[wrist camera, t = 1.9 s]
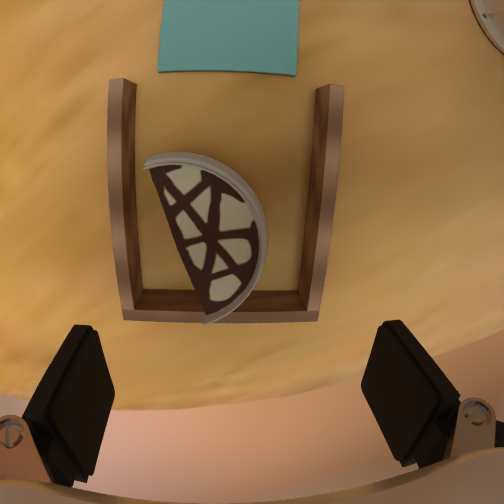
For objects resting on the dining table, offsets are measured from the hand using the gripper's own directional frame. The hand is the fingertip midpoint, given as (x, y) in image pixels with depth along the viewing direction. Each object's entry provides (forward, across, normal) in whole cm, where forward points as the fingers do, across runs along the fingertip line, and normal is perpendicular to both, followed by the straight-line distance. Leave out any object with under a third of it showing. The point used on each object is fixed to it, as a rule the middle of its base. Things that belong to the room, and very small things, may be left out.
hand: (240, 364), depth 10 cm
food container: (+21, 0, 0) cm, 21 cm away
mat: (+21, 0, -20) cm, 29 cm away
